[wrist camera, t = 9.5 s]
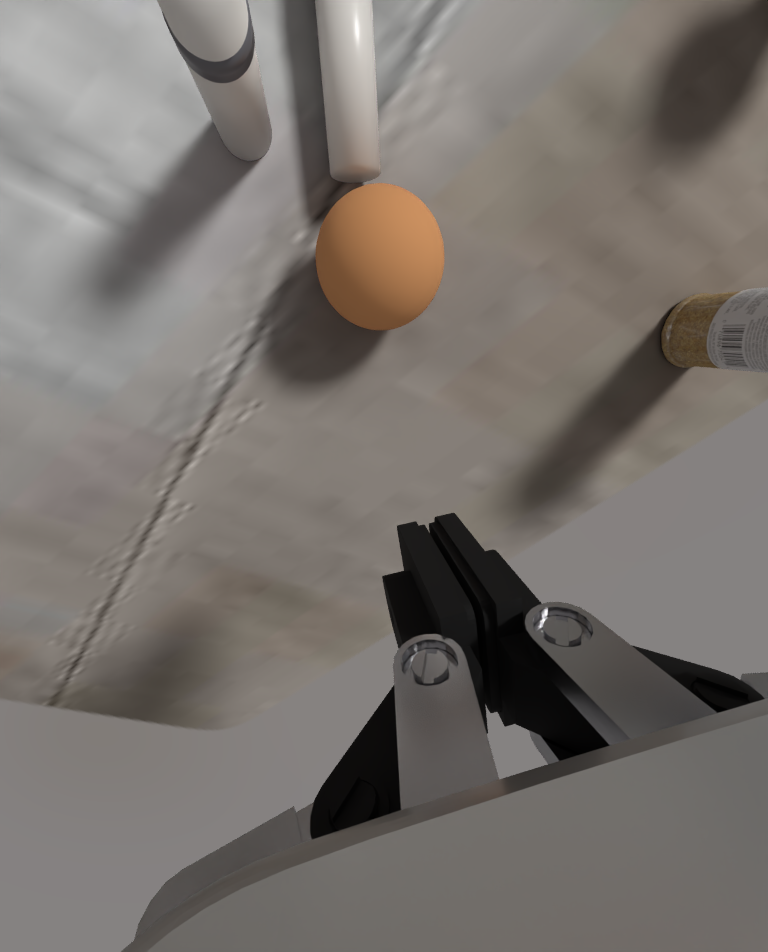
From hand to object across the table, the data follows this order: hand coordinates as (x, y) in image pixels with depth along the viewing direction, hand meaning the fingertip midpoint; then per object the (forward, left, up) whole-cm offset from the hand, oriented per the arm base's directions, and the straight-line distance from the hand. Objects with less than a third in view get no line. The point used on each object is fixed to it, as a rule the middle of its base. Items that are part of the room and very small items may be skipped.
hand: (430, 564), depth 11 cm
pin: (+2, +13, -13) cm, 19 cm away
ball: (+2, +9, -11) cm, 15 cm away
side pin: (-3, +16, -14) cm, 22 cm away
